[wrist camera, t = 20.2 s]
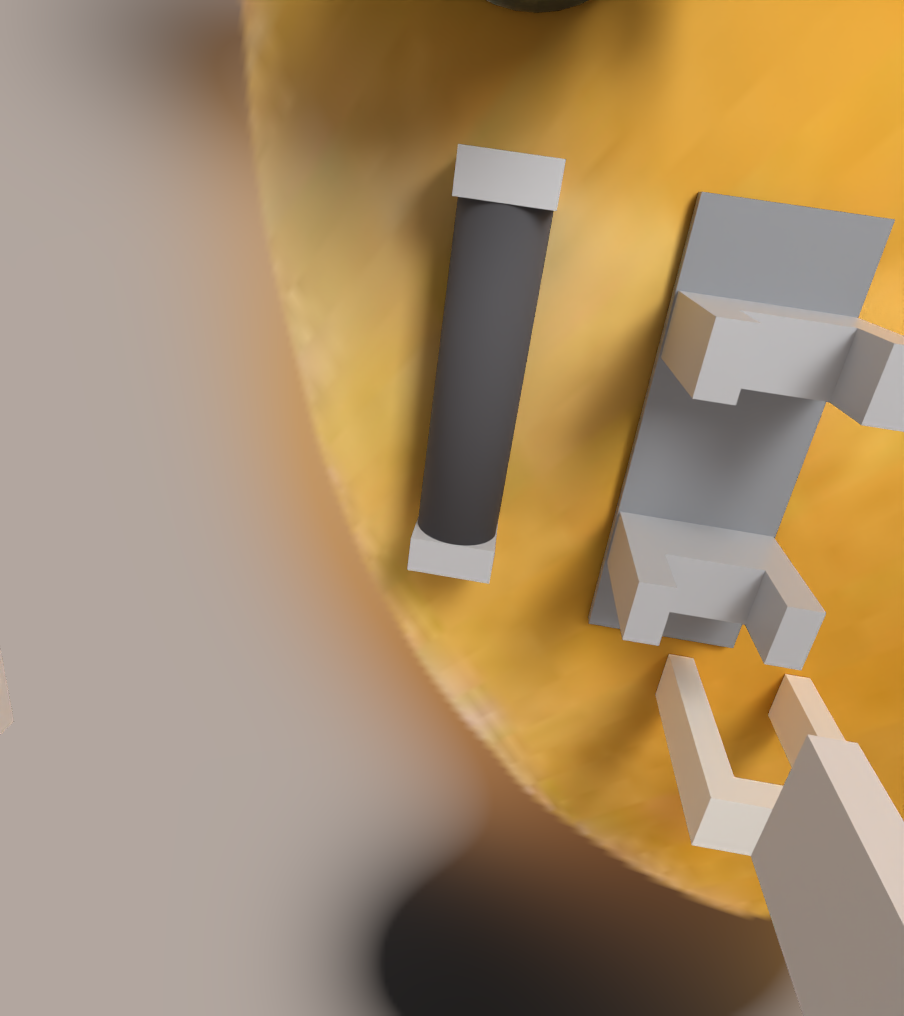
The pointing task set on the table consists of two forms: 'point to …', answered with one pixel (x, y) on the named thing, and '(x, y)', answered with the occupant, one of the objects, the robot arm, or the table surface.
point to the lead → (482, 354)
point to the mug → (537, 4)
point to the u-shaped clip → (703, 761)
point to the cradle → (744, 423)
